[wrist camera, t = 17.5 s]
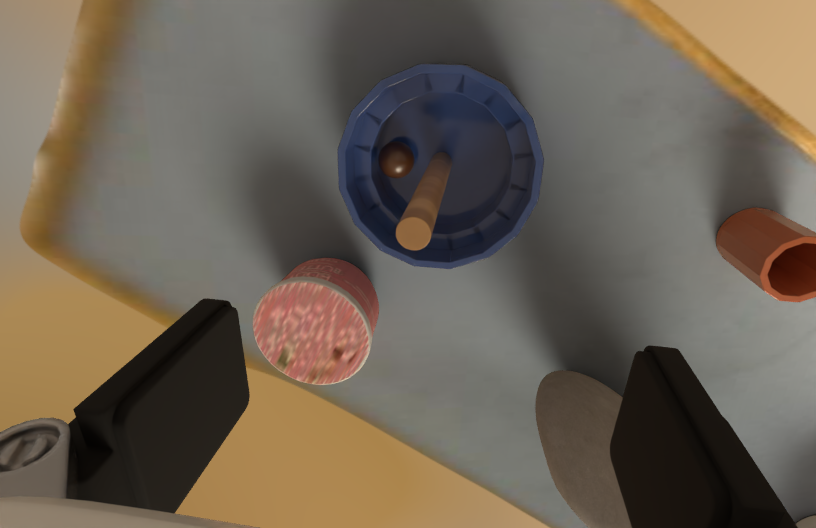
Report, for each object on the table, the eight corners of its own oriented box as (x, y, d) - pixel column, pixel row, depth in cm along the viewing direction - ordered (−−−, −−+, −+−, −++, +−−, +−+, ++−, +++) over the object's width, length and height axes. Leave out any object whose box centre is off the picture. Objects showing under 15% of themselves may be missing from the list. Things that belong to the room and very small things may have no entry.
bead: (423, 145, 37) (404, 139, 40) (390, 144, 36) (373, 138, 38) (419, 181, 38) (401, 173, 41) (387, 182, 37) (370, 174, 39)
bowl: (355, 61, 38) (334, 61, 32) (546, 66, 36) (557, 67, 30) (358, 235, 44) (341, 260, 38) (521, 248, 42) (527, 275, 36)
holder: (725, 205, 38) (775, 234, 32) (792, 209, 37) (855, 239, 31) (708, 261, 40) (751, 298, 34) (770, 265, 39) (826, 304, 33)
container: (272, 306, 48) (235, 349, 41) (311, 225, 44) (277, 257, 37) (359, 353, 49) (338, 404, 42) (406, 279, 45) (391, 320, 38)
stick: (431, 151, 39) (395, 215, 23) (452, 152, 39) (431, 218, 23) (430, 172, 40) (395, 249, 23) (451, 173, 40) (430, 252, 23)
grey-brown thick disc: (505, 362, 47) (518, 531, 30) (556, 318, 44) (604, 478, 27) (631, 463, 50) (709, 670, 33) (688, 427, 47) (805, 634, 30)
